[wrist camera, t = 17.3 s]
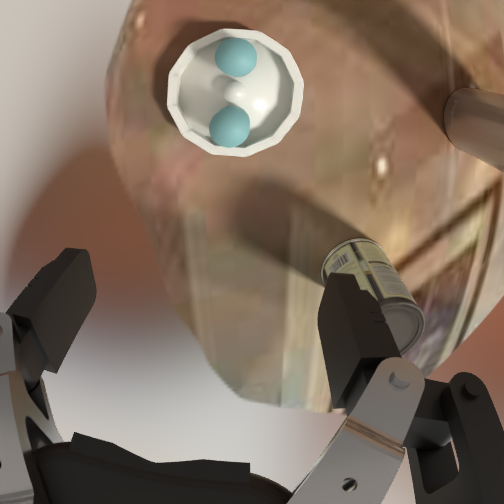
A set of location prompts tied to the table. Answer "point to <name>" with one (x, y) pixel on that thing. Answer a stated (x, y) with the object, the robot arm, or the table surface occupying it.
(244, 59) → the bead
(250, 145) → the ring tray
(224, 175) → the table surface
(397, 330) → the coffee can
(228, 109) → the bead
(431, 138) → the table surface
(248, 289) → the table surface
